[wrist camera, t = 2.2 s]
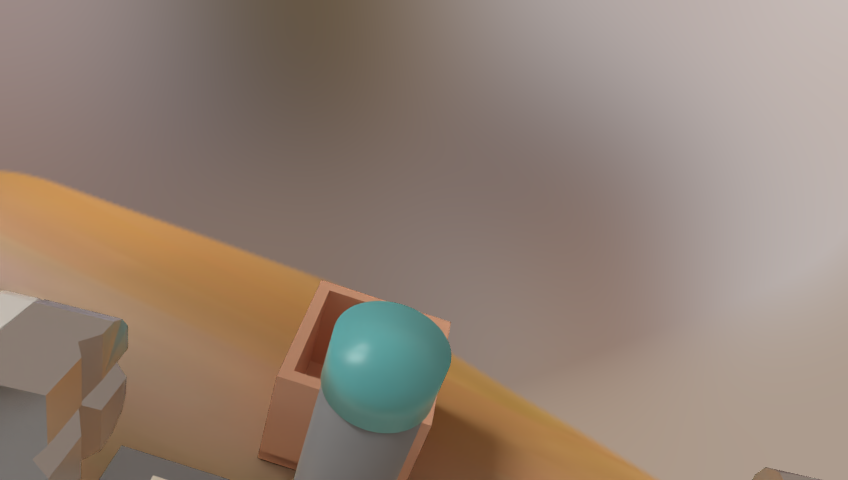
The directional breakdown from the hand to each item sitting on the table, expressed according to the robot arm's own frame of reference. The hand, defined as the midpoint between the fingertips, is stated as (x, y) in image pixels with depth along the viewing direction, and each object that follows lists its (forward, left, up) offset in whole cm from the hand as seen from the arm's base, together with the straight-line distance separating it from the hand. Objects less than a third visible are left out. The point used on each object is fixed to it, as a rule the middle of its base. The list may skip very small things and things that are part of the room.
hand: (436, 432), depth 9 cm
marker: (+6, +8, -22) cm, 24 cm away
